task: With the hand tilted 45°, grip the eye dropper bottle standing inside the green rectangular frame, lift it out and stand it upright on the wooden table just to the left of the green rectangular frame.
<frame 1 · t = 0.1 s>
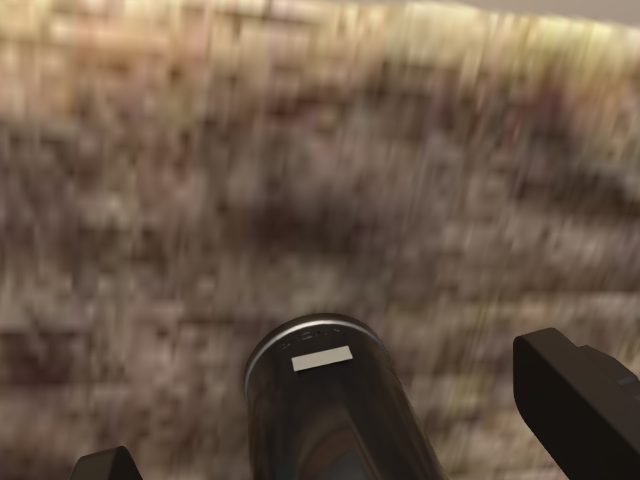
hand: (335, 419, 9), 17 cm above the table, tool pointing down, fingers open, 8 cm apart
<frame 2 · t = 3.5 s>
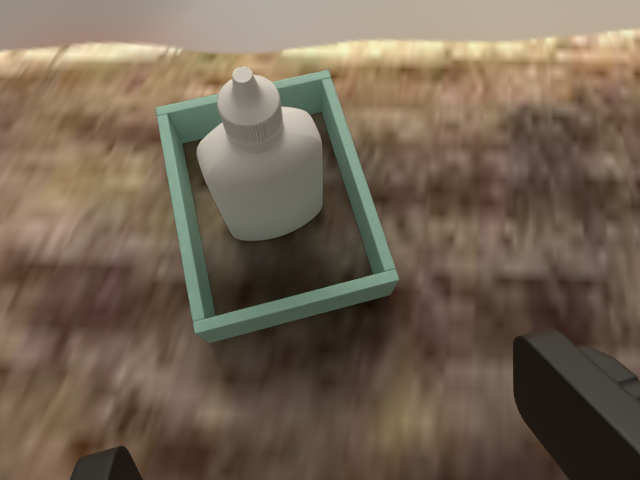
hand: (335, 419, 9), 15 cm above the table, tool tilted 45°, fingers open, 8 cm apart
green rectangular frame: (274, 211, 28), on the table
eye dropper bottle: (274, 212, 28), resting in green rectangular frame
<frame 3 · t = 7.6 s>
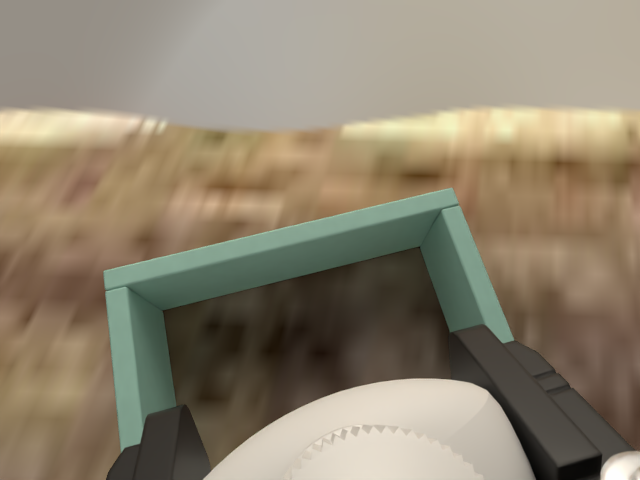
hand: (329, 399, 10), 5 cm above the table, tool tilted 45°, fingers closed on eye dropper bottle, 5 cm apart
green rectangular frame: (341, 465, 14), on the table
eye dropper bottle: (340, 465, 14), resting in green rectangular frame, touching gripper
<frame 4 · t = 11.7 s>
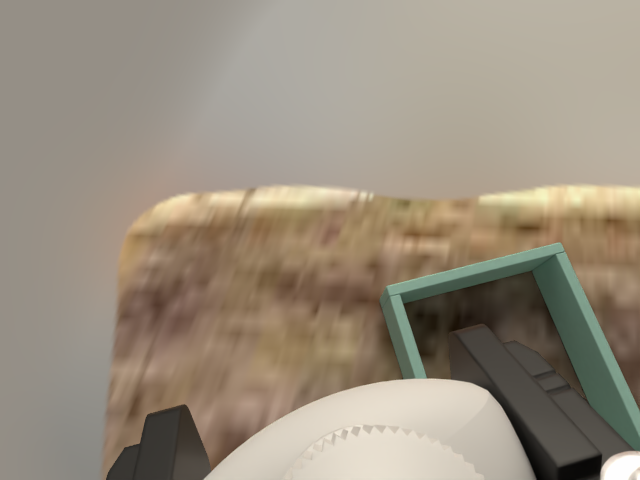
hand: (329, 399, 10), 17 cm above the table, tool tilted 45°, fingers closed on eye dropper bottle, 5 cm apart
green rectangular frame: (499, 389, 26), on the table
eye dropper bottle: (341, 465, 14), point 12 cm above the table, touching gripper
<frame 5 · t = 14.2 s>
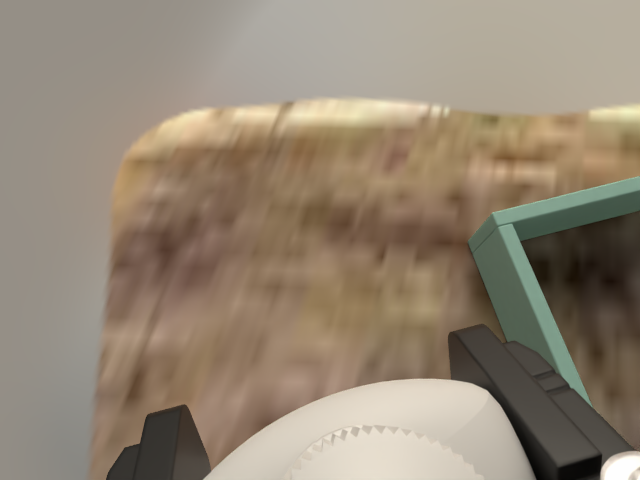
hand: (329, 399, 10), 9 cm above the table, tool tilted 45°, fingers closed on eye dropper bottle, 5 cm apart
eye dropper bottle: (340, 465, 14), point 4 cm above the table, touching gripper
when the fingers open (5 cm above the table, at t = 15.9 s): eye dropper bottle stays where it is, on the table.
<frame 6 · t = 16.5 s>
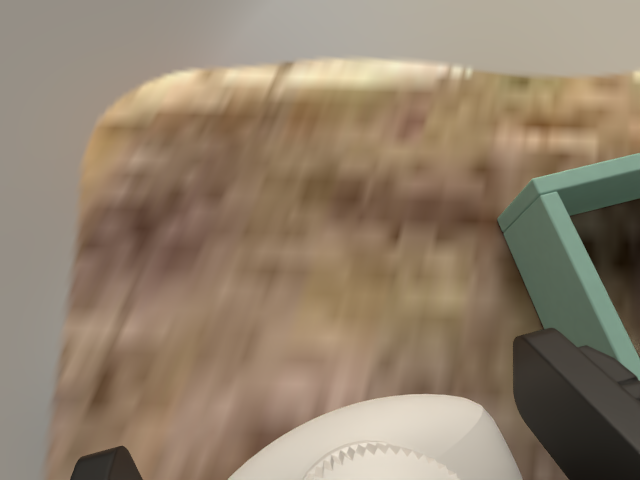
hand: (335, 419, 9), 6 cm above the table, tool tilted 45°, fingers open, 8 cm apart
eye dropper bottle: (343, 470, 15), on the table
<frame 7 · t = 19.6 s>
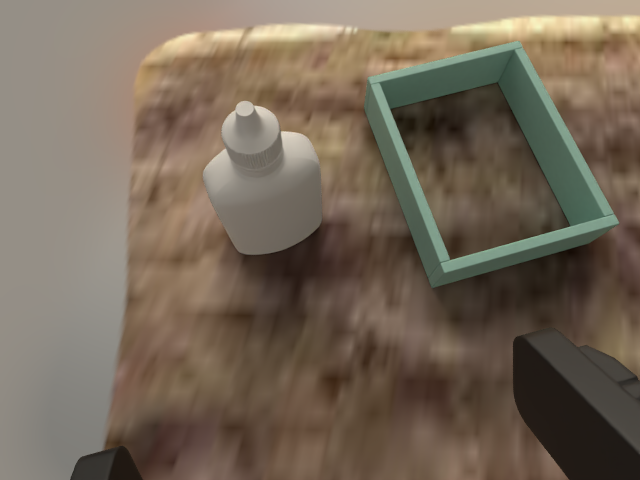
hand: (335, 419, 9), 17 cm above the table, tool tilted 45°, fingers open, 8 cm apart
green rectangular frame: (469, 171, 30), on the table
eye dropper bottle: (276, 227, 29), on the table
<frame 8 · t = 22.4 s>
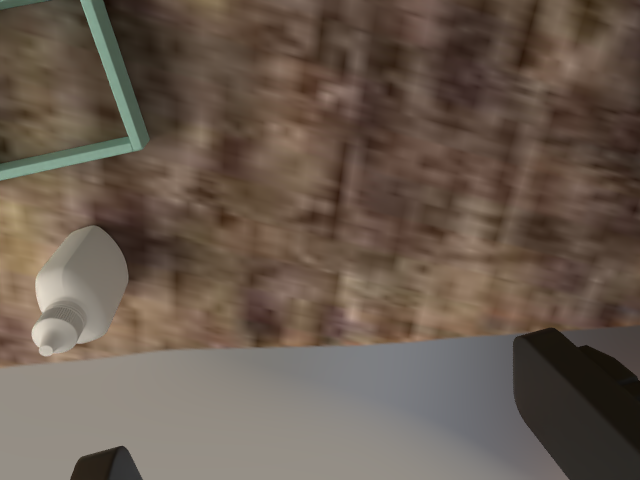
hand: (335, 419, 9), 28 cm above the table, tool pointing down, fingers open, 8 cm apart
green rectangular frame: (24, 86, 31), on the table
eye dropper bottle: (101, 256, 36), on the table
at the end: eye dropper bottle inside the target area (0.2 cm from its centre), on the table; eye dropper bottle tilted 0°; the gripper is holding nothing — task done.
